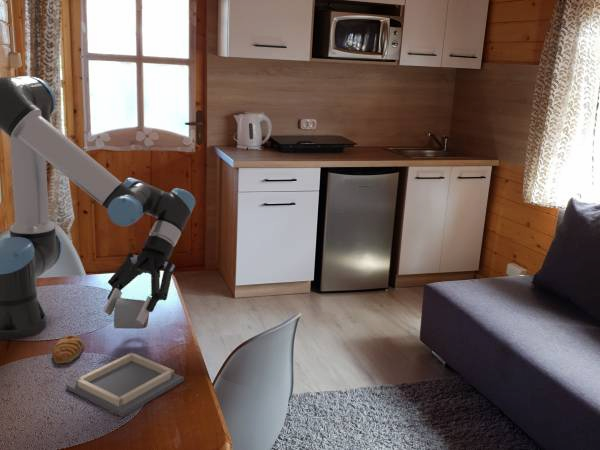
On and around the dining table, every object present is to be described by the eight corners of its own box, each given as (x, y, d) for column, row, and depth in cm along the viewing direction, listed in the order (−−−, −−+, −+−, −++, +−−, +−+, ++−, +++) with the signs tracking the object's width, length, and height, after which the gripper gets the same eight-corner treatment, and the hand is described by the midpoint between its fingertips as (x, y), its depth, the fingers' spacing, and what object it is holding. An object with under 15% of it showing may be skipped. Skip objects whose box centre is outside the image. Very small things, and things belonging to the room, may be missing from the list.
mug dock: (66, 388, 132) (65, 378, 132) (129, 357, 147) (129, 348, 146) (122, 416, 123) (121, 406, 122) (183, 380, 138) (183, 371, 137)
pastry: (77, 365, 143) (76, 350, 142) (47, 366, 142) (46, 351, 141) (84, 347, 152) (84, 333, 151) (56, 348, 151) (55, 334, 150)
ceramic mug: (147, 333, 151) (147, 304, 149) (113, 333, 150) (113, 304, 148) (150, 316, 161) (151, 289, 159) (119, 316, 160) (119, 289, 158)
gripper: (202, 256, 159) (166, 333, 149) (133, 241, 167) (95, 313, 157) (191, 241, 153) (153, 321, 143) (121, 227, 161) (80, 301, 151)
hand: (123, 317), depth 150 cm, fingers closed on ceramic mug, 9 cm apart
